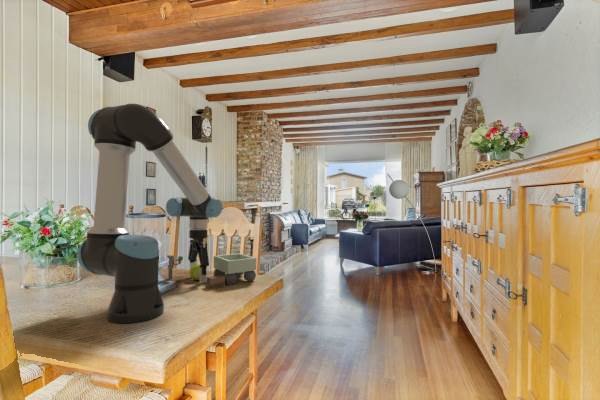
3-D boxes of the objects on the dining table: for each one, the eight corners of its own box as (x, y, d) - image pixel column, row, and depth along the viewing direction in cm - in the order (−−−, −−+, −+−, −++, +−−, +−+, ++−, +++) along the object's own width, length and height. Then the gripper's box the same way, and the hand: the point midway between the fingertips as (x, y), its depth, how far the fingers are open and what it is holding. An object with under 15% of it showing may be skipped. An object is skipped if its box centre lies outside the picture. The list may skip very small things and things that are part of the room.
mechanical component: (180, 279, 139) (180, 256, 139) (157, 279, 139) (157, 256, 139) (183, 278, 142) (183, 255, 142) (160, 277, 142) (160, 255, 142)
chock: (224, 286, 129) (225, 276, 129) (210, 289, 125) (210, 278, 125) (220, 284, 132) (220, 275, 132) (206, 286, 128) (206, 277, 128)
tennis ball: (204, 277, 143) (204, 262, 144) (207, 280, 138) (207, 265, 138) (188, 279, 140) (188, 263, 140) (191, 282, 134) (191, 266, 134)
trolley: (256, 281, 138) (257, 258, 138) (227, 285, 130) (227, 261, 130) (240, 274, 150) (241, 253, 150) (212, 278, 142) (212, 256, 142)
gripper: (217, 230, 132) (217, 283, 132) (197, 226, 151) (196, 273, 151) (199, 231, 128) (199, 286, 127) (181, 227, 146) (180, 275, 146)
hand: (197, 279), depth 139 cm, fingers open, 11 cm apart
